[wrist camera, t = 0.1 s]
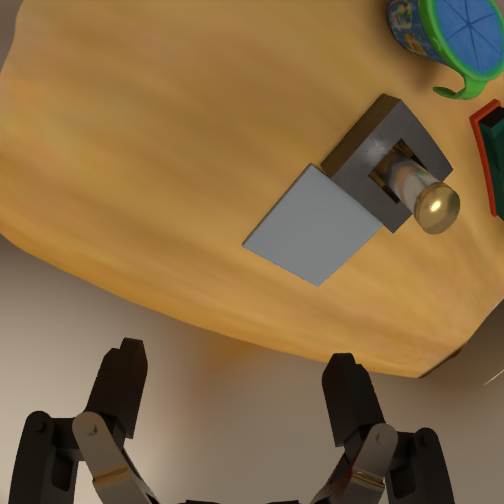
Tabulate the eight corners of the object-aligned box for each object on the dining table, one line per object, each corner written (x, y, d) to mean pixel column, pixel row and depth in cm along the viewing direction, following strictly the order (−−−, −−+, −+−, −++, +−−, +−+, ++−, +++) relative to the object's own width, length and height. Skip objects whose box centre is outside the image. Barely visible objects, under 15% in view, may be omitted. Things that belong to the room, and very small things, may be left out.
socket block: (382, 93, 23) (400, 99, 20) (435, 156, 27) (453, 169, 24) (320, 164, 29) (330, 179, 26) (380, 215, 33) (393, 233, 30)
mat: (310, 163, 29) (311, 165, 28) (382, 222, 33) (383, 224, 33) (242, 243, 35) (242, 246, 34) (317, 283, 40) (317, 286, 39)
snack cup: (449, 94, 22) (509, 118, 14) (376, 83, 23) (432, 98, 15) (441, -18, 13) (498, -24, 5) (362, -42, 13) (409, -70, 5)
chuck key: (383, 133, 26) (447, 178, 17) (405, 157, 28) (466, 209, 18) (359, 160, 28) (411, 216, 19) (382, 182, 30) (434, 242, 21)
